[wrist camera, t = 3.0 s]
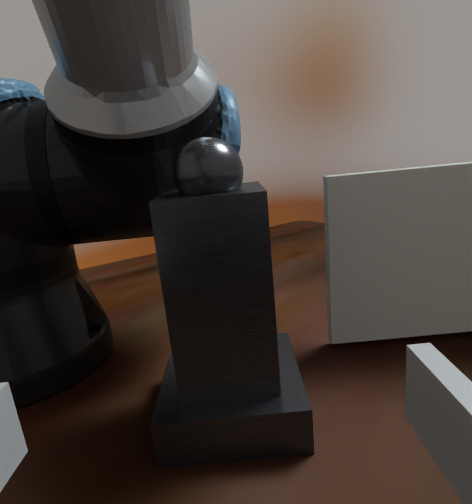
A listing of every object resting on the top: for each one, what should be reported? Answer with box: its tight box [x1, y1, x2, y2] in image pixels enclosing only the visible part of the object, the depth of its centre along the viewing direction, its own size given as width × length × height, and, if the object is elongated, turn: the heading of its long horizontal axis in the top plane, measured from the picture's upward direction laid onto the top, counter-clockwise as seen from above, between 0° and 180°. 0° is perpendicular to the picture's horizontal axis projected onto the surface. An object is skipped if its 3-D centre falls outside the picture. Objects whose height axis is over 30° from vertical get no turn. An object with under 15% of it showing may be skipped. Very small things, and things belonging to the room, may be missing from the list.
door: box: [323, 162, 472, 344], centre depth 31 cm, size 17×3×14 cm, turn 91°
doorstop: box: [149, 137, 314, 469], centre depth 23 cm, size 9×9×18 cm
